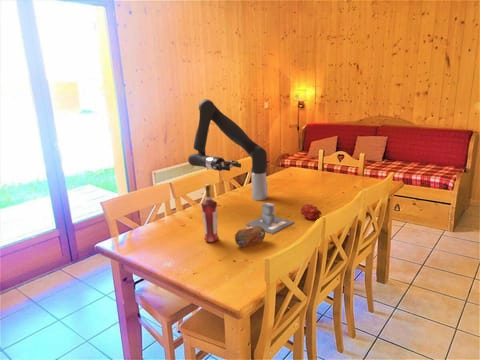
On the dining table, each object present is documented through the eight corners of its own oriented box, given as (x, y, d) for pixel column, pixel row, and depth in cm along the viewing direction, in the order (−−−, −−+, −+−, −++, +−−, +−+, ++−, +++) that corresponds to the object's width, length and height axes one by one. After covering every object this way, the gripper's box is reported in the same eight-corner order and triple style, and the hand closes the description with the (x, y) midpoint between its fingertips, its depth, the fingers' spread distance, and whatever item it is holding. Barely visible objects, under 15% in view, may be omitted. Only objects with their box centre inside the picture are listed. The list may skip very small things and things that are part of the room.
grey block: (267, 220, 197) (267, 202, 195) (274, 222, 194) (274, 204, 191) (262, 222, 194) (261, 204, 191) (268, 224, 191) (268, 206, 188)
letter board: (267, 215, 206) (267, 214, 206) (294, 223, 194) (294, 221, 194) (245, 225, 194) (245, 223, 194) (272, 234, 182) (272, 232, 181)
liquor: (205, 237, 181) (201, 182, 173) (219, 237, 181) (216, 182, 173) (203, 244, 174) (198, 187, 166) (218, 243, 174) (215, 186, 166)
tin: (237, 249, 167) (236, 232, 165) (234, 246, 170) (233, 229, 168) (265, 241, 174) (265, 225, 172) (262, 239, 177) (261, 222, 174)
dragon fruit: (299, 218, 204) (319, 225, 198) (295, 214, 197) (316, 221, 191) (305, 204, 205) (325, 210, 199) (301, 199, 198) (322, 206, 192)
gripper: (205, 159, 205) (225, 163, 194) (223, 154, 214) (244, 158, 203) (206, 172, 207) (226, 176, 196) (224, 167, 217) (244, 171, 206)
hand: (235, 167), depth 200 cm, fingers open, 8 cm apart
